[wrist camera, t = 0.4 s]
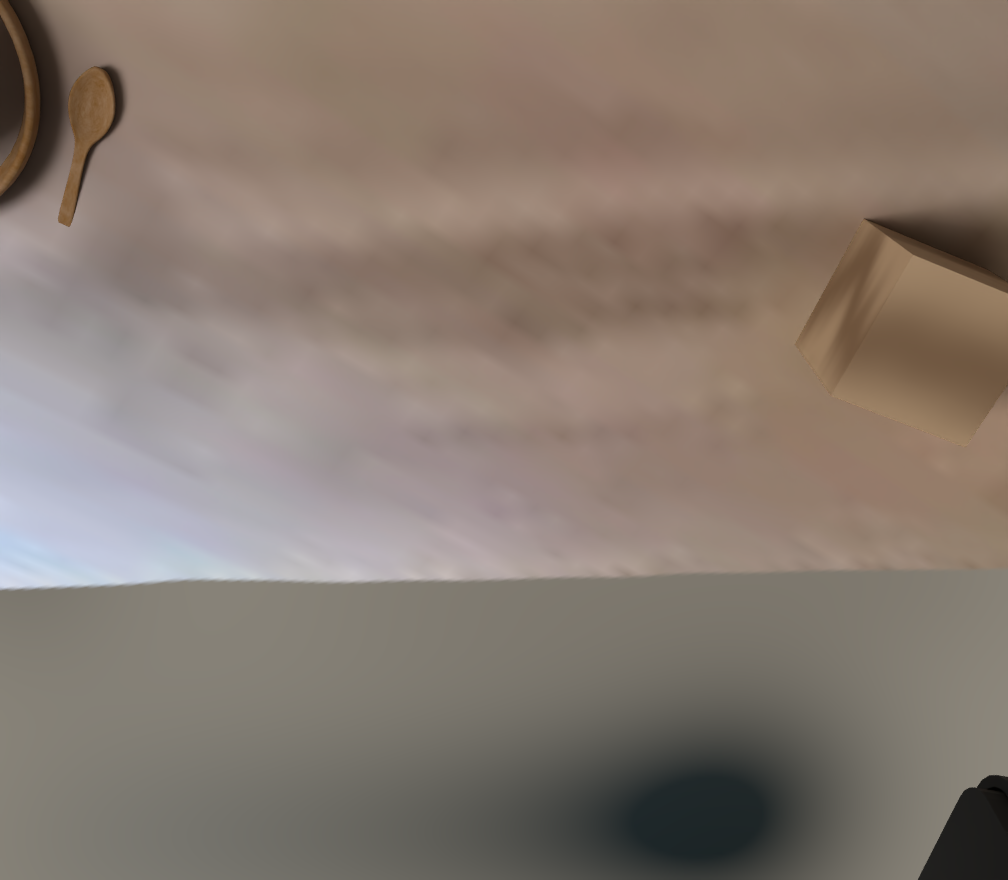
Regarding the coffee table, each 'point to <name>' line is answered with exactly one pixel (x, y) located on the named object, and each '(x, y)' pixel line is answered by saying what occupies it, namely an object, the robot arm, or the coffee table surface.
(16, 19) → the place setting
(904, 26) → the coffee table surface
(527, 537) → the coffee table surface
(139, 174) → the coffee table surface
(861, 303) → the walnut cube
